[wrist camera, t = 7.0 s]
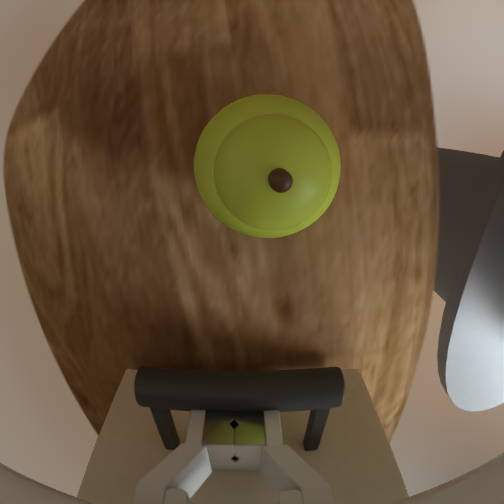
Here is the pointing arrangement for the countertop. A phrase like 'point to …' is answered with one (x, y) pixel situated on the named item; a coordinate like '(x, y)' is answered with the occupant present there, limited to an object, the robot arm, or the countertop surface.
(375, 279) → the countertop surface
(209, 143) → the pear
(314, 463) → the drawer
